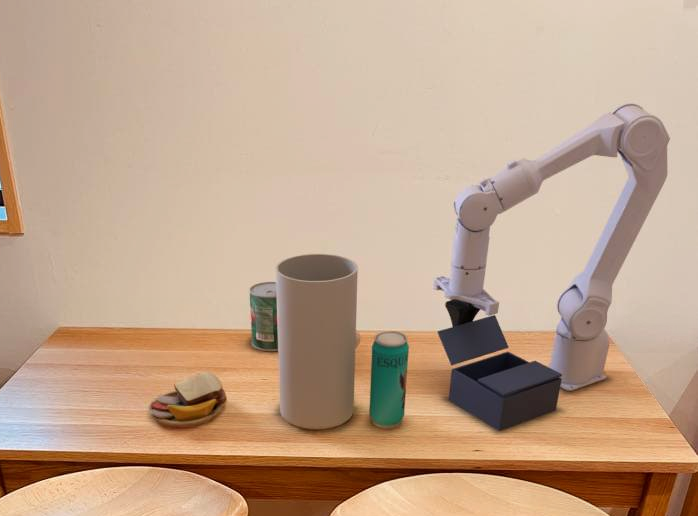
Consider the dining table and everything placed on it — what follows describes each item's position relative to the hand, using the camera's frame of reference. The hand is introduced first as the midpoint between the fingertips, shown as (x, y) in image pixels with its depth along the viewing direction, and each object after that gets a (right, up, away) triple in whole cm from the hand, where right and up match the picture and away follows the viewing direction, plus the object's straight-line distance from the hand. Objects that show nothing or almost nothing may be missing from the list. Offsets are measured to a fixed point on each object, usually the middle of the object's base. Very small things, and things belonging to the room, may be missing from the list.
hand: (460, 340), depth 149 cm
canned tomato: (-34, +4, +18) cm, 39 cm away
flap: (+2, 0, -3) cm, 4 cm away
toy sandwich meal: (-48, -13, -3) cm, 49 cm away
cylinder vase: (-25, -14, -5) cm, 29 cm away
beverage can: (-14, -16, -8) cm, 22 cm away
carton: (+6, -12, -4) cm, 14 cm away
